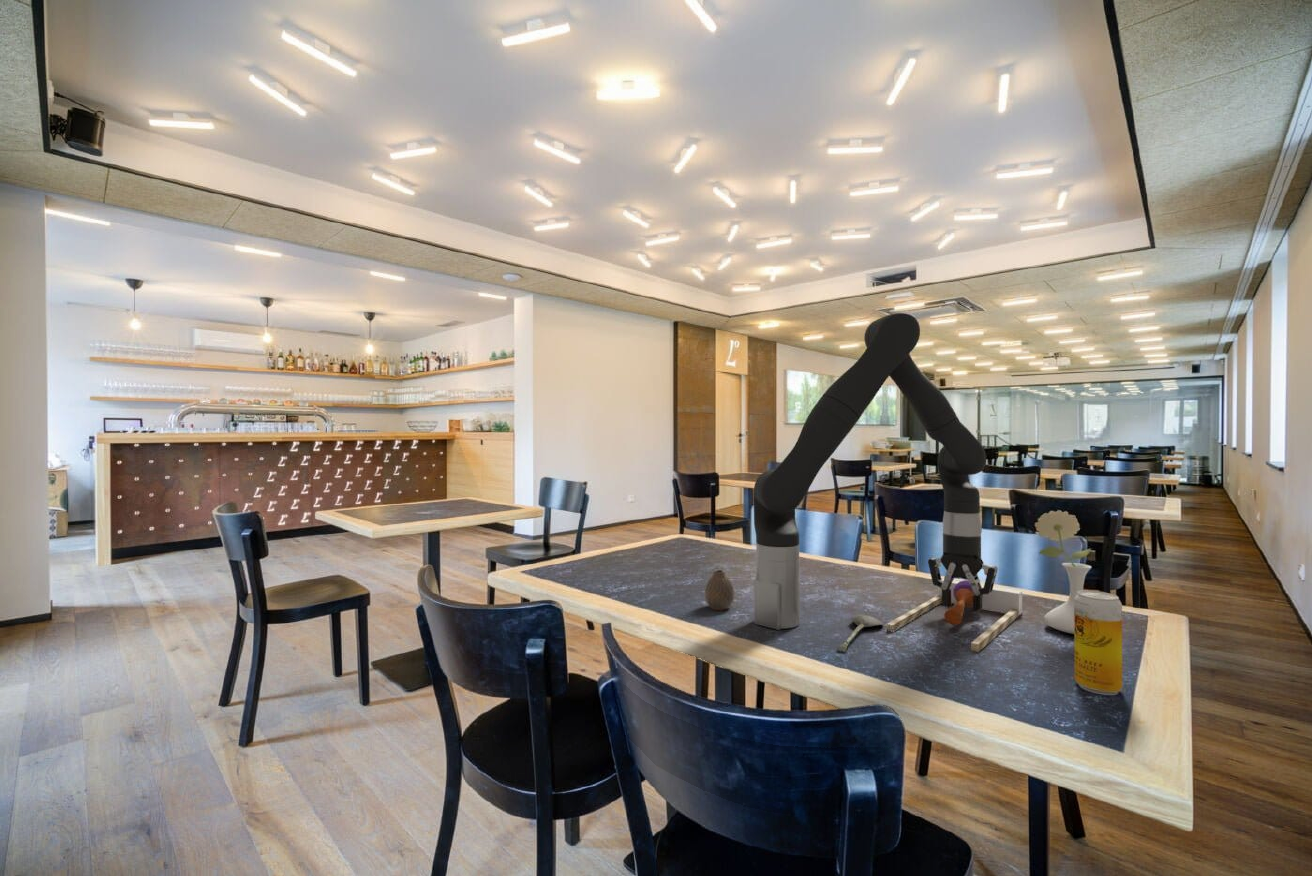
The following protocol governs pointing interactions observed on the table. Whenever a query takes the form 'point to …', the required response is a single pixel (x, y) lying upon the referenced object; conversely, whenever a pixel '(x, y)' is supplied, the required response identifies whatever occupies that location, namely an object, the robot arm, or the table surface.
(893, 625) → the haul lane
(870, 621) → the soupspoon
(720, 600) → the vase
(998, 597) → the end stop
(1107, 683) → the beer can
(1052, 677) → the table surface
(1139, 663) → the table surface
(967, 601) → the kendama
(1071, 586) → the flower in vase
